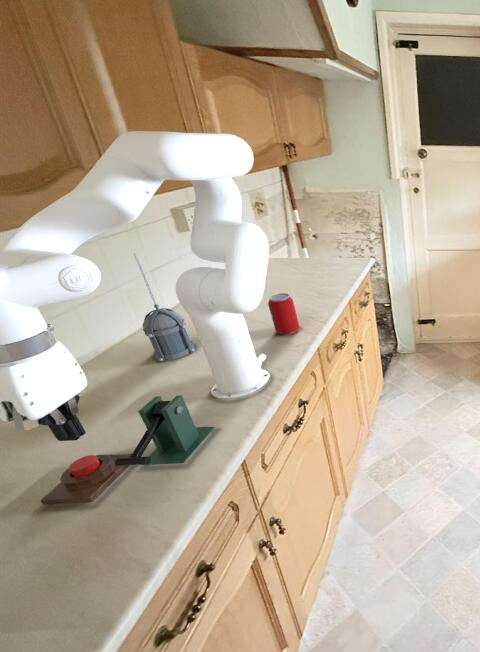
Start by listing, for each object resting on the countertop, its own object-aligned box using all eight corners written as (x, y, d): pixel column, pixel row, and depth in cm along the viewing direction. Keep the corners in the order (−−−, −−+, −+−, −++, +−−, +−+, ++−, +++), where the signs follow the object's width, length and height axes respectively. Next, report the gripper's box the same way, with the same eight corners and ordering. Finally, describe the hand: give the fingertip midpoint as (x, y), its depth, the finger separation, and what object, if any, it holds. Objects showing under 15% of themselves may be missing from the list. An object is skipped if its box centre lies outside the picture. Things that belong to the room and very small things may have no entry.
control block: (96, 463, 78) (87, 448, 76) (139, 461, 78) (131, 446, 77) (46, 509, 69) (34, 492, 67) (95, 506, 69) (85, 490, 68)
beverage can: (285, 325, 130) (276, 291, 125) (304, 326, 129) (296, 293, 124) (271, 335, 124) (261, 300, 119) (291, 336, 123) (281, 302, 118)
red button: (85, 462, 73) (81, 455, 73) (106, 461, 74) (102, 454, 73) (67, 478, 70) (62, 471, 69) (88, 477, 70) (84, 470, 70)
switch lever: (150, 466, 71) (141, 461, 69) (120, 468, 70) (111, 462, 69) (184, 406, 79) (177, 400, 77) (158, 407, 79) (150, 401, 77)
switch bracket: (186, 467, 77) (163, 419, 72) (142, 469, 77) (117, 421, 72) (216, 430, 86) (199, 386, 81) (178, 432, 86) (157, 387, 81)
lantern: (206, 342, 120) (170, 246, 107) (181, 362, 110) (138, 259, 97) (170, 342, 119) (130, 247, 107) (141, 362, 110) (93, 259, 97)
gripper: (40, 323, 67) (88, 409, 75) (-71, 374, 54) (1, 473, 61) (87, 322, 68) (130, 408, 75) (-11, 372, 54) (54, 470, 62)
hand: (72, 437), depth 68 cm, fingers closed
